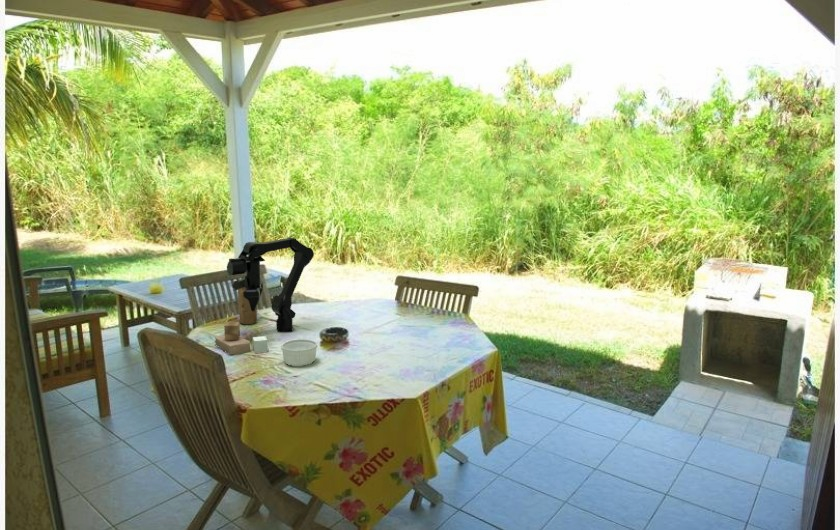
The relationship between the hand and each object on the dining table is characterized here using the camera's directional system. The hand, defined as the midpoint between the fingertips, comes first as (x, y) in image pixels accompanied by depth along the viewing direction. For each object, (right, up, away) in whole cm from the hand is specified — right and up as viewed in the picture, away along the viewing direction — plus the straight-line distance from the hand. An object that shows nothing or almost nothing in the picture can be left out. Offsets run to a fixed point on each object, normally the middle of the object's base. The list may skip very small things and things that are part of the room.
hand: (254, 308), depth 238 cm
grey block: (+7, -16, -14) cm, 22 cm away
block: (-10, -8, +23) cm, 26 cm away
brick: (-5, -16, -12) cm, 21 cm away
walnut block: (-5, -11, -13) cm, 18 cm away
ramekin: (+25, -19, -25) cm, 40 cm away
